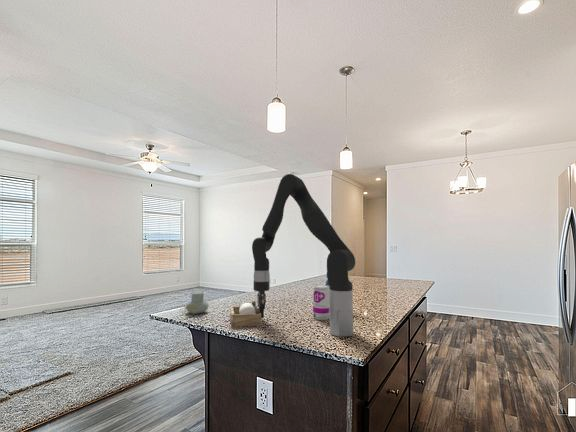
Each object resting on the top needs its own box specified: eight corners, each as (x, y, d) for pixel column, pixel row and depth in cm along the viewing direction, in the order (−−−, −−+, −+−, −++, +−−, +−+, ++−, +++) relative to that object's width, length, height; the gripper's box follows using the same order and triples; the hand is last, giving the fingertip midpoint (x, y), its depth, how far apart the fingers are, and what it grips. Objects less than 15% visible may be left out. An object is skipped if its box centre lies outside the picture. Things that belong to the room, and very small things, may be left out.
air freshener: (210, 311, 162) (211, 292, 163) (201, 315, 155) (202, 294, 155) (192, 310, 166) (193, 291, 166) (183, 313, 158) (183, 293, 159)
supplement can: (324, 321, 143) (324, 288, 145) (309, 318, 148) (309, 286, 149) (333, 317, 150) (333, 286, 151) (318, 315, 155) (318, 284, 156)
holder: (261, 325, 136) (261, 309, 137) (231, 327, 133) (231, 310, 134) (256, 315, 154) (256, 301, 154) (230, 317, 151) (230, 302, 151)
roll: (237, 313, 137) (245, 328, 137) (252, 304, 139) (260, 318, 139) (236, 307, 149) (243, 320, 149) (249, 299, 151) (256, 312, 151)
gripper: (271, 281, 141) (271, 321, 140) (267, 278, 154) (267, 314, 152) (255, 282, 139) (254, 321, 138) (252, 278, 152) (251, 314, 151)
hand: (261, 317), depth 145 cm, fingers closed
